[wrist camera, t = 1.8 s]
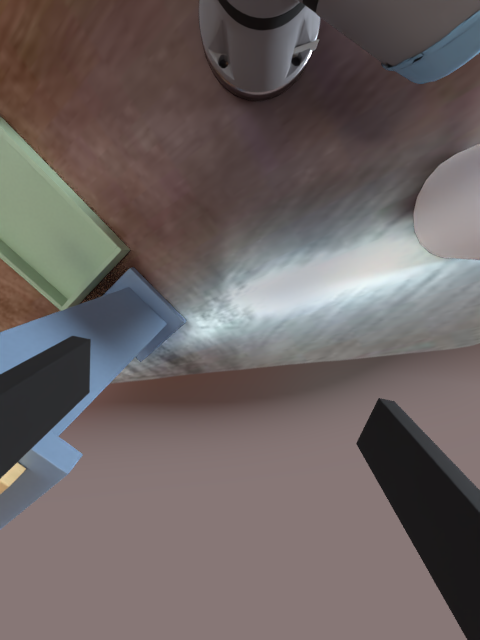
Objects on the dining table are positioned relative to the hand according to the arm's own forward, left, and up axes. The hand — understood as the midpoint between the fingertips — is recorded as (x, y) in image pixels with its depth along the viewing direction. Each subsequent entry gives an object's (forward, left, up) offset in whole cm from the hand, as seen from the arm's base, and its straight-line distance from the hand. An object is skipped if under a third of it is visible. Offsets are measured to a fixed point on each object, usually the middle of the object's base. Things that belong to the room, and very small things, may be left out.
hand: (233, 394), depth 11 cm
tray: (-12, -33, -32) cm, 48 cm away
